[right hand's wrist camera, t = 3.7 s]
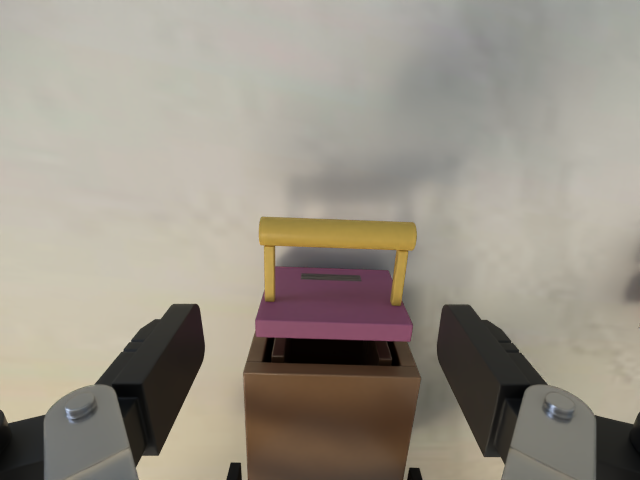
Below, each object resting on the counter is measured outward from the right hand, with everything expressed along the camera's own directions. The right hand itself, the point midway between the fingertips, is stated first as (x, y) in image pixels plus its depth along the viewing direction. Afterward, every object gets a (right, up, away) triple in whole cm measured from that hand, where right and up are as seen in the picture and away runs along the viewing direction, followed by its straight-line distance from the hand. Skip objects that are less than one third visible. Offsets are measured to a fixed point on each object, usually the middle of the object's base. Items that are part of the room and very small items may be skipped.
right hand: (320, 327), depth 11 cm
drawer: (+1, -4, +17) cm, 18 cm away
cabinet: (0, -9, +20) cm, 22 cm away
